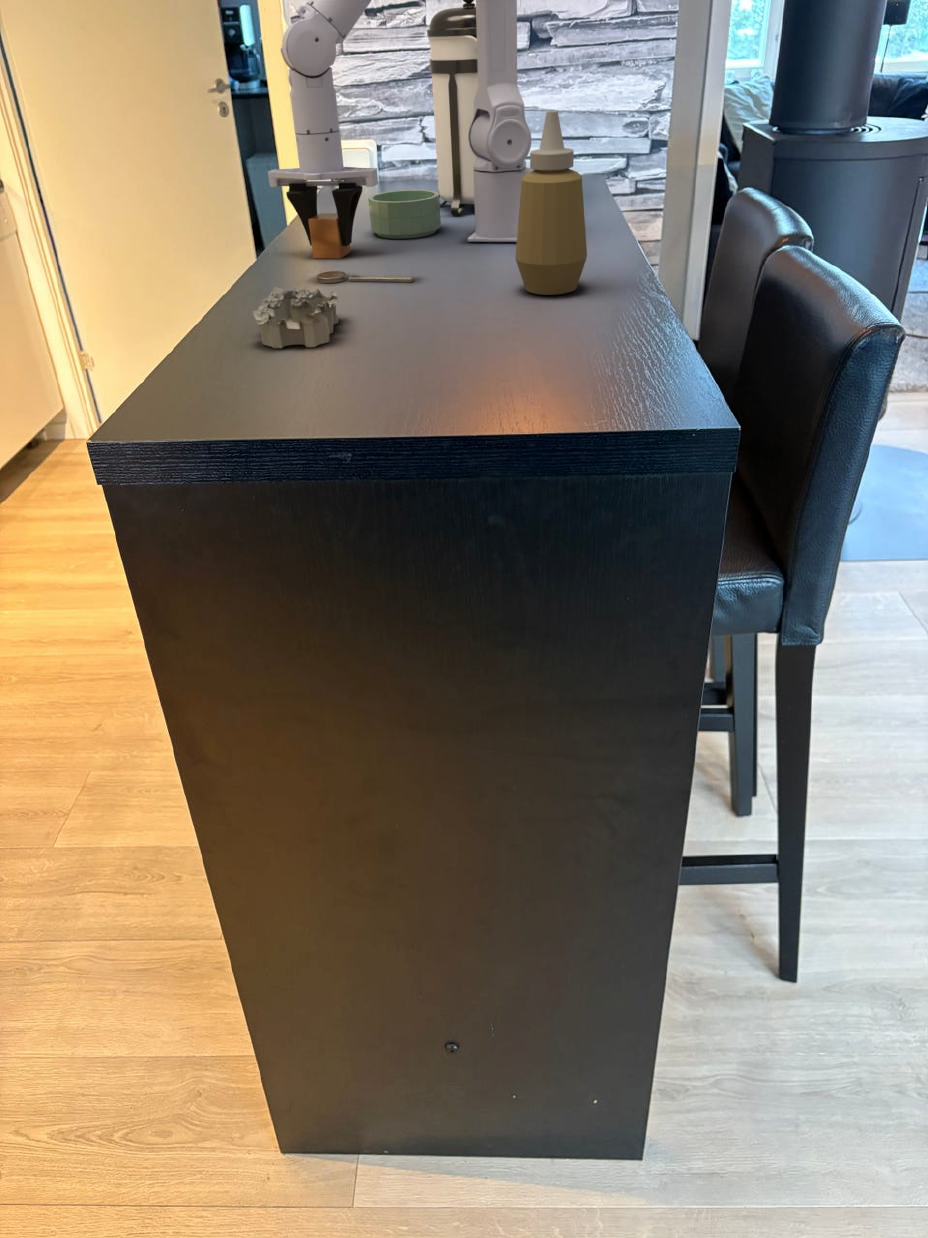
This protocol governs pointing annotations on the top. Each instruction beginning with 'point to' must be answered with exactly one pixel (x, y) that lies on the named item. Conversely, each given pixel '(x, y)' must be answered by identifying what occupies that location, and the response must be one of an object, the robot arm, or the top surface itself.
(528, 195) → the squeeze bottle
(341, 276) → the spoon
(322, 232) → the block
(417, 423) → the top surface
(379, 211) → the bowl
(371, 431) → the top surface
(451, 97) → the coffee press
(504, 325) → the top surface
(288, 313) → the grey succulent planter
